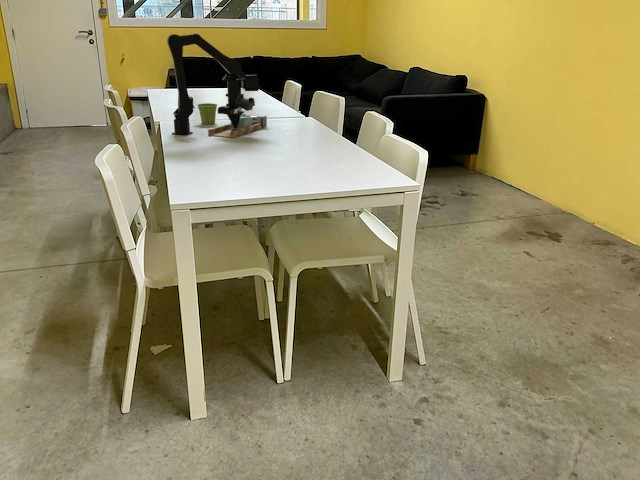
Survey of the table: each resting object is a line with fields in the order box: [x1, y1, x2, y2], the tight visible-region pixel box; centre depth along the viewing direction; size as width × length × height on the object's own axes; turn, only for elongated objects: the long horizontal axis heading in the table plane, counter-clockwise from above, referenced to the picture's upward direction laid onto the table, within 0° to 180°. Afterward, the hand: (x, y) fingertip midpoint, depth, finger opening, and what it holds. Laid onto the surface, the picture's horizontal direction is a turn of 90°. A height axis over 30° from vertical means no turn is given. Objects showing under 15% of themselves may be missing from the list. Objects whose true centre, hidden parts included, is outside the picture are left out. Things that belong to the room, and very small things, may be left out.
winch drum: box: [241, 113, 268, 129], centre depth 245 cm, size 4×12×5 cm, turn 67°
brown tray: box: [207, 121, 262, 139], centre depth 232 cm, size 24×12×3 cm, turn 157°
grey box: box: [230, 116, 253, 130], centre depth 236 cm, size 7×7×5 cm
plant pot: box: [196, 102, 219, 125], centre depth 249 cm, size 9×9×9 cm
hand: (235, 128), depth 232 cm, fingers closed
